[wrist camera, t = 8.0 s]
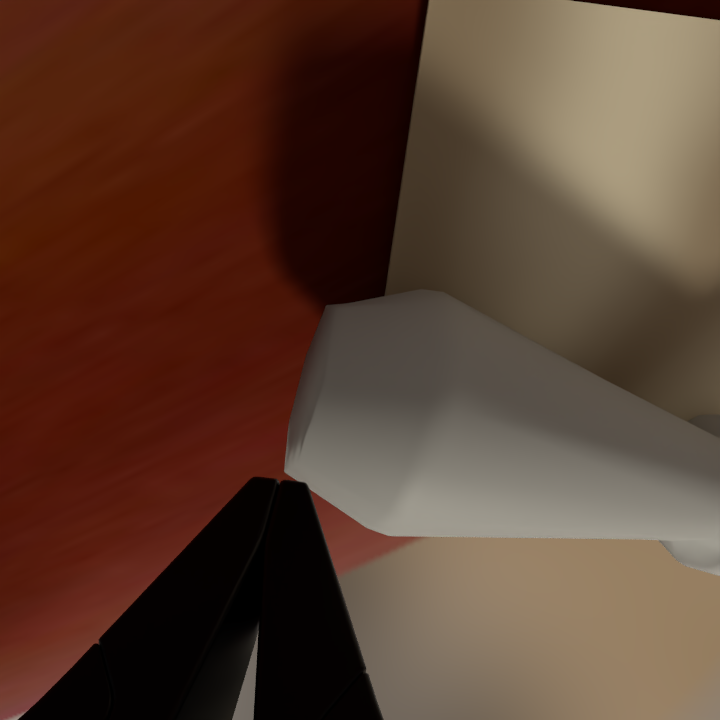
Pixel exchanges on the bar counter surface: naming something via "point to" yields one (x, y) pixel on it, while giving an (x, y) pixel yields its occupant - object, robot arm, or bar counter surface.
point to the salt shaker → (492, 435)
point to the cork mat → (572, 186)
